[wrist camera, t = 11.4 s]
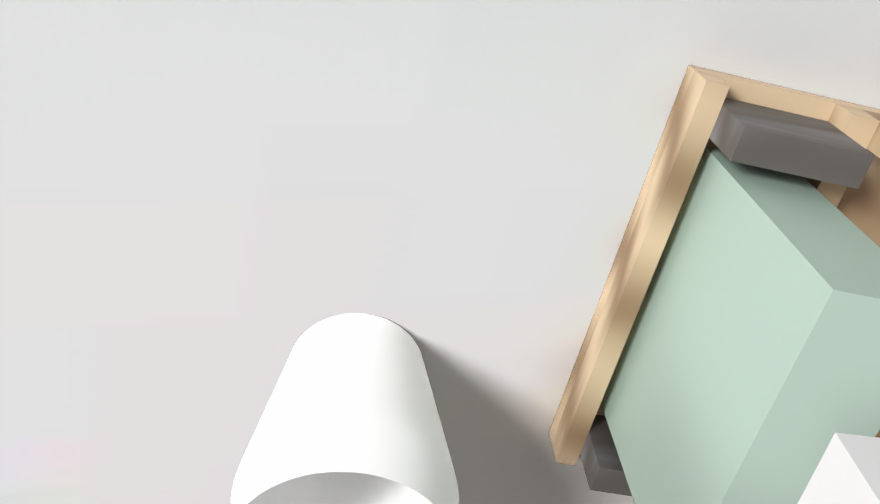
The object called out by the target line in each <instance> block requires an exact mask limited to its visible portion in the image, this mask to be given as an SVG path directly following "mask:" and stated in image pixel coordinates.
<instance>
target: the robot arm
mask: <svg viewBox="0 0 880 504" xmlns="http://www.w3.org/2000/svg"><path fill="white" fill-rule="evenodd" d="M798 504H880V438H878V437H869V436H861V435H852V434H844V433H836V432H835V434H834V436H833V438H832V439H831V441H830V443H829V445H828V447H827V449H826V451H825V453H824V455H823V456H822V458H821V460H820V462H819V464H818V466H817V468H816V470H815V472H814V473H813V475H812V477H811V479H810V481H809V483H808V485H807V487H806V489H805V490H804V492H803V494H802V496H801V498H800V500H799V502H798Z"/></svg>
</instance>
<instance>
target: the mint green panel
mask: <svg viewBox="0 0 880 504" xmlns="http://www.w3.org/2000/svg"><path fill="white" fill-rule="evenodd" d="M601 405H602V408H603V411H604V414H605V417H606V420H607V423H608V426H609V429H610V432H611V435H612V438H613V441H614V444H615V447H616V450H617V453H618V456H619V459H620V462H621V464H622V467H623V470H624V473H625V476H626V479H627V482H628V485H629V488H630V491H631V494H632V497H633V500H634V503H635V504H798V502H799V500H800V498H801V496H802V494H803V492H804V490H805V489H806V487H807V485H808V483H809V481H810V479H811V477H812V475H813V473H814V472H815V470H816V468H817V466H818V464H819V462H820V460H821V458H822V456H823V455H824V453H825V451H826V449H827V447H828V445H829V443H830V441H831V439H832V438H833V436H834V434H835V432H836V433H844V434H852V435H861V436H869V437H875V436H876V434H877V433H878V431H879V429H880V247H879V246H877V245H876V244H875V243H874V242H873V241H872V240H871V239H870V238H869V237H868V236H867V235H866V234H864V233H863V232H862V231H861V230H860V229H859V228H858V227H857V226H856V225H855V224H854V223H853V222H851V221H850V220H849V219H848V218H847V217H846V216H845V215H844V214H843V213H842V212H841V211H840V210H838V209H837V208H836V207H835V206H834V205H833V204H832V203H831V202H830V201H829V200H828V199H827V198H825V197H824V196H823V195H822V194H821V193H820V192H819V191H818V190H817V189H816V188H815V187H813V186H812V185H811V184H810V183H809V182H808V181H807V180H806V179H805V178H804V177H802V176H797V175H792V174H788V173H783V172H779V171H774V170H770V169H765V168H761V167H756V166H751V165H747V164H742V163H738V162H733V161H730V160H729V159H728V158H727V157H726V155H725V154H724V153H723V152H722V151H721V150H719V149H715V148H710V147H705V149H704V152H703V154H702V156H701V159H700V161H699V164H698V166H697V169H696V171H695V174H694V176H693V179H692V181H691V183H690V186H689V188H688V191H687V193H686V196H685V198H684V201H683V203H682V205H681V208H680V210H679V213H678V215H677V218H676V220H675V223H674V225H673V227H672V230H671V232H670V235H669V237H668V240H667V242H666V245H665V247H664V250H663V252H662V254H661V257H660V259H659V262H658V264H657V267H656V269H655V272H654V274H653V276H652V279H651V281H650V284H649V286H648V289H647V291H646V294H645V296H644V298H643V301H642V303H641V306H640V308H639V311H638V313H637V316H636V318H635V321H634V323H633V325H632V328H631V330H630V333H629V335H628V338H627V340H626V343H625V345H624V347H623V350H622V352H621V355H620V357H619V360H618V362H617V365H616V367H615V369H614V372H613V374H612V377H611V379H610V382H609V384H608V387H607V389H606V392H605V394H604V396H603V399H602V401H601Z"/></svg>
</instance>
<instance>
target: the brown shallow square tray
mask: <svg viewBox="0 0 880 504" xmlns="http://www.w3.org/2000/svg"><path fill="white" fill-rule="evenodd" d="M705 147H710V148H715V149H719V150H721V151H722V152H723V153H724V154H725V155H726V157H727V158H728V159H729V160H730V161H733V162H738V163H742V164H747V165H751V166H756V167H761V168H765V169H770V170H774V171H779V172H783V173H788V174H792V175H797V176H802V177H804V178H805V179H806V180H807V181H808V182H809V183H810V184H811V185H812V186H813V187H815V188H816V189H817V190H818V191H819V192H820V193H821V194H822V195H823V196H824V197H825V198H827V199H828V200H829V201H830V202H831V203H832V204H833V205H834V206H835V207H836V208H837V209H838V210H840V211H841V212H842V213H843V214H844V215H845V216H846V217H847V218H848V219H849V220H850V221H851V222H853V223H854V224H855V225H856V226H857V227H858V228H859V229H860V230H861V231H862V232H863V233H864V234H866V235H867V236H868V237H869V238H870V239H871V240H872V241H873V242H874V243H875V244H876V245H877V246H879V247H880V110H879V109H874V108H870V107H866V106H862V105H857V104H853V103H849V102H845V101H840V100H836V99H832V98H828V97H823V96H819V95H815V94H811V93H806V92H802V91H798V90H794V89H789V88H785V87H781V86H777V85H772V84H768V83H764V82H760V81H756V80H751V79H747V78H743V77H739V76H734V75H730V74H726V73H722V72H717V71H713V70H709V69H705V68H700V67H696V66H692V65H689V66H688V68H687V71H686V74H685V76H684V79H683V82H682V84H681V87H680V89H679V92H678V95H677V97H676V100H675V103H674V105H673V108H672V110H671V113H670V116H669V118H668V121H667V124H666V126H665V129H664V132H663V134H662V137H661V139H660V142H659V145H658V147H657V150H656V153H655V155H654V158H653V160H652V163H651V166H650V168H649V171H648V174H647V176H646V179H645V181H644V184H643V187H642V189H641V192H640V195H639V197H638V200H637V202H636V205H635V208H634V210H633V213H632V216H631V218H630V221H629V223H628V226H627V229H626V231H625V234H624V237H623V239H622V242H621V245H620V247H619V250H618V252H617V255H616V258H615V260H614V263H613V266H612V268H611V271H610V273H609V276H608V279H607V281H606V284H605V287H604V289H603V292H602V294H601V297H600V300H599V302H598V305H597V308H596V310H595V313H594V315H593V318H592V321H591V323H590V326H589V329H588V331H587V334H586V336H585V339H584V342H583V344H582V347H581V350H580V352H579V355H578V358H577V360H576V363H575V365H574V368H573V371H572V373H571V376H570V379H569V381H568V384H567V386H566V389H565V392H564V394H563V397H562V400H561V402H560V405H559V407H558V410H557V413H556V415H555V418H554V421H553V423H552V426H551V428H550V431H549V434H550V438H551V442H552V447H553V451H554V455H555V459H556V463H562V464H569V465H576V462H577V460H578V458H579V455H581V458H582V462H583V466H584V469H585V473H586V476H587V480H588V484H589V487H590V490H595V491H602V492H608V493H615V494H621V495H628V496H632V494H631V491H630V488H629V485H628V482H627V479H626V476H625V473H624V470H623V467H622V464H621V462H620V459H619V456H618V453H617V450H616V447H615V444H614V441H613V438H612V435H611V432H610V429H609V426H608V423H607V420H606V417H605V414H604V411H603V408H602V405H601V401H602V399H603V396H604V394H605V392H606V389H607V387H608V384H609V382H610V379H611V377H612V374H613V372H614V369H615V367H616V365H617V362H618V360H619V357H620V355H621V352H622V350H623V347H624V345H625V343H626V340H627V338H628V335H629V333H630V330H631V328H632V325H633V323H634V321H635V318H636V316H637V313H638V311H639V308H640V306H641V303H642V301H643V298H644V296H645V294H646V291H647V289H648V286H649V284H650V281H651V279H652V276H653V274H654V272H655V269H656V267H657V264H658V262H659V259H660V257H661V254H662V252H663V250H664V247H665V245H666V242H667V240H668V237H669V235H670V232H671V230H672V227H673V225H674V223H675V220H676V218H677V215H678V213H679V210H680V208H681V205H682V203H683V201H684V198H685V196H686V193H687V191H688V188H689V186H690V183H691V181H692V179H693V176H694V174H695V171H696V169H697V166H698V164H699V161H700V159H701V156H702V154H703V152H704V149H705ZM875 437H878V438H880V429H879V431H878V433H877V434H876V436H875Z"/></svg>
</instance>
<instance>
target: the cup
mask: <svg viewBox="0 0 880 504" xmlns="http://www.w3.org/2000/svg"><path fill="white" fill-rule="evenodd" d="M230 504H459V491H458V484H457V479H456V475H455V471H454V468H453V464H452V460H451V457H450V453H449V449H448V446H447V442H446V439H445V435H444V432H443V428H442V425H441V421H440V418H439V414H438V410H437V407H436V403H435V400H434V396H433V393H432V389H431V386H430V382H429V379H428V375H427V372H426V368H425V365H424V361H423V357H422V354H421V352H420V349H419V347H418V345H417V344H416V342H415V341H414V339H413V338H412V337H411V336H410V335H409V334H408V333H407V332H406V331H405V330H404V329H402V328H401V327H400V326H398V325H397V324H395V323H393V322H391V321H389V320H387V319H385V318H382V317H379V316H375V315H370V314H363V313H348V314H341V315H336V316H332V317H329V318H327V319H324V320H322V321H320V322H318V323H316V324H315V325H313V326H312V327H310V328H309V329H308V330H307V331H305V332H304V333H303V334H302V336H301V337H300V338H299V339H298V341H297V342H296V344H295V346H294V347H293V350H292V352H291V354H290V356H289V358H288V360H287V363H286V365H285V367H284V369H283V371H282V373H281V376H280V378H279V380H278V382H277V384H276V386H275V389H274V391H273V393H272V395H271V397H270V399H269V402H268V404H267V406H266V408H265V410H264V412H263V414H262V417H261V419H260V421H259V423H258V425H257V427H256V430H255V432H254V434H253V436H252V438H251V440H250V443H249V445H248V447H247V449H246V451H245V454H244V456H243V458H242V460H241V463H240V465H239V468H238V470H237V473H236V476H235V478H234V482H233V486H232V493H231V502H230Z"/></svg>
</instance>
